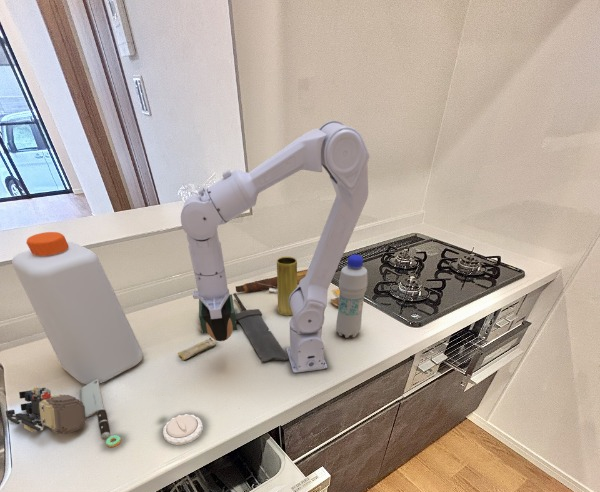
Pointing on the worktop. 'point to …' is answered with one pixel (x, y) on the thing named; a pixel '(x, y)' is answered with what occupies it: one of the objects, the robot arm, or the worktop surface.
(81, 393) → the cleaver
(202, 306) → the tote
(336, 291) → the shell
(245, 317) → the flat dark sword
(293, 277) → the vase
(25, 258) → the plastic bottle
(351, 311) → the bottle
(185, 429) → the white round disc
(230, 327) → the egg
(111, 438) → the donut
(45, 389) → the toy
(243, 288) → the hand tool
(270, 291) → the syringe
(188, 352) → the snack bar
